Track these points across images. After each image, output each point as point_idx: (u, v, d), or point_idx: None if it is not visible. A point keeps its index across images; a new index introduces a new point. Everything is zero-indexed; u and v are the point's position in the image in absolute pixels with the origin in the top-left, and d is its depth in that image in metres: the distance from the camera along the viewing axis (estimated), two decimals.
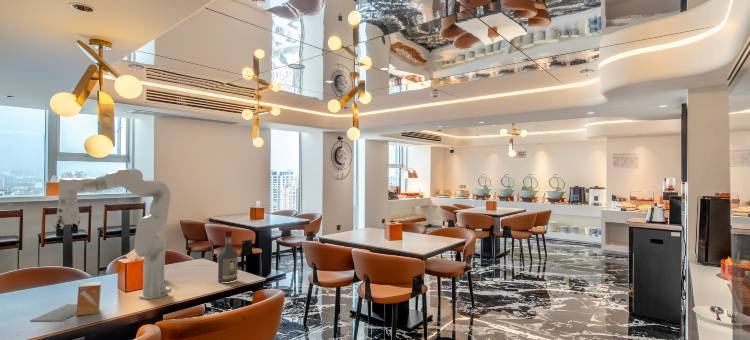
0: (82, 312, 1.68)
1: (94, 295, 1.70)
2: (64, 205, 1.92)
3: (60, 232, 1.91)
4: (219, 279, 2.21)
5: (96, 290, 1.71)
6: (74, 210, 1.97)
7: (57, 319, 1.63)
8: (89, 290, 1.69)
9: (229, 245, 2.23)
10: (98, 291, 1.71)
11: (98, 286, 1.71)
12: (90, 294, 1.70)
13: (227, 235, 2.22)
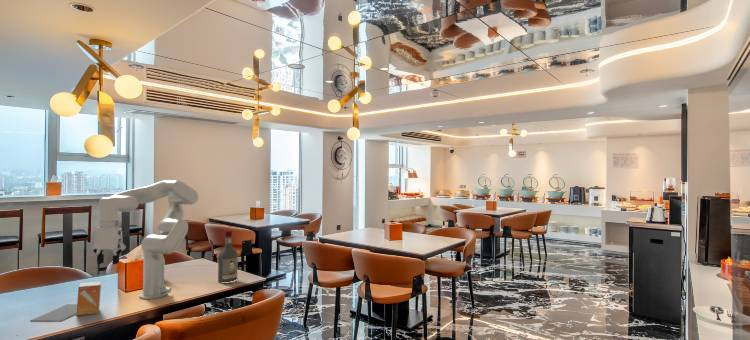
0: (82, 312, 1.68)
1: (94, 295, 1.70)
2: (119, 227, 1.74)
3: None
4: (219, 279, 2.21)
5: (96, 290, 1.71)
6: None
7: (57, 319, 1.63)
8: (89, 290, 1.69)
9: (229, 245, 2.23)
10: (98, 291, 1.71)
11: (98, 286, 1.71)
12: (90, 294, 1.70)
13: (227, 235, 2.22)
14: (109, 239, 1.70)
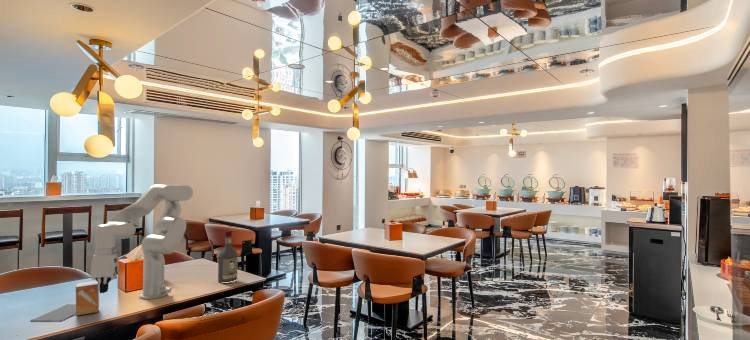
0: (81, 312, 1.68)
1: (92, 294, 1.70)
2: (115, 254, 1.73)
3: None
4: (219, 279, 2.21)
5: (94, 289, 1.70)
6: None
7: (57, 319, 1.63)
8: (87, 289, 1.69)
9: (229, 245, 2.23)
10: (96, 290, 1.71)
11: (95, 285, 1.71)
12: (88, 293, 1.69)
13: (227, 235, 2.22)
14: (105, 267, 1.69)
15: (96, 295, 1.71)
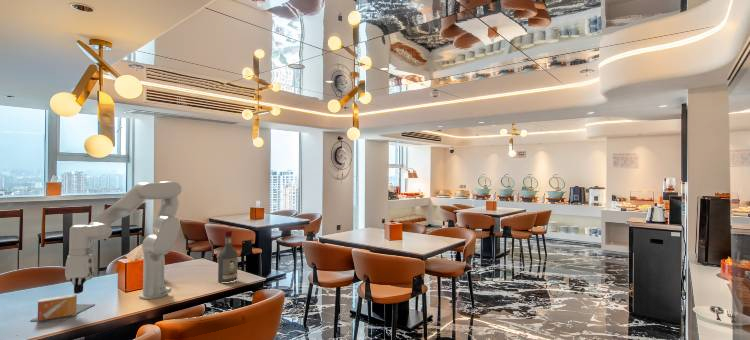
0: (72, 310, 1.67)
1: (51, 304, 1.63)
2: (90, 254, 1.73)
3: None
4: (219, 279, 2.21)
5: (45, 304, 1.61)
6: None
7: (57, 319, 1.63)
8: (44, 310, 1.61)
9: (229, 245, 2.23)
10: (46, 302, 1.62)
11: (39, 303, 1.60)
12: (49, 308, 1.62)
13: (227, 235, 2.22)
14: (79, 268, 1.70)
15: (53, 301, 1.63)
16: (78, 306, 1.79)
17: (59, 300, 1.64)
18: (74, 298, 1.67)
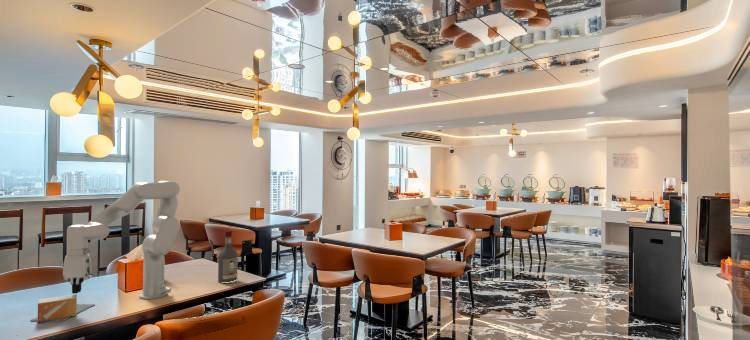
0: (72, 311, 1.67)
1: (51, 306, 1.62)
2: (88, 254, 1.73)
3: None
4: (219, 279, 2.21)
5: (45, 305, 1.61)
6: None
7: (57, 319, 1.63)
8: (43, 311, 1.61)
9: (229, 245, 2.23)
10: (46, 303, 1.61)
11: (39, 304, 1.60)
12: (49, 309, 1.62)
13: (227, 235, 2.22)
14: (77, 267, 1.70)
15: (53, 302, 1.63)
16: (78, 306, 1.79)
17: (59, 301, 1.64)
18: (74, 299, 1.67)
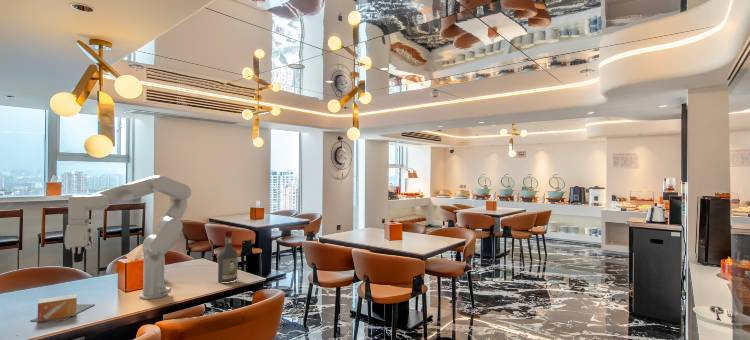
0: (72, 311, 1.67)
1: (51, 306, 1.62)
2: (89, 224, 1.76)
3: None
4: (219, 279, 2.21)
5: (45, 305, 1.61)
6: None
7: (57, 319, 1.63)
8: (43, 311, 1.61)
9: (229, 245, 2.23)
10: (46, 303, 1.61)
11: (39, 304, 1.60)
12: (49, 309, 1.62)
13: (227, 235, 2.22)
14: (79, 237, 1.72)
15: (53, 302, 1.63)
16: (78, 306, 1.79)
17: (59, 301, 1.64)
18: (74, 299, 1.67)
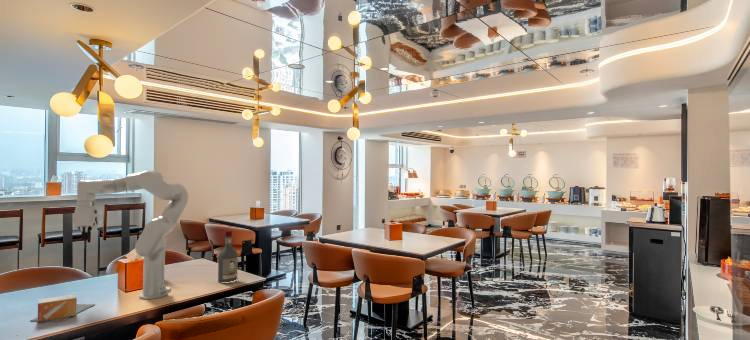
0: (72, 311, 1.67)
1: (51, 306, 1.62)
2: (95, 206, 1.96)
3: None
4: (219, 279, 2.21)
5: (45, 305, 1.61)
6: None
7: (57, 319, 1.63)
8: (43, 311, 1.61)
9: (229, 245, 2.23)
10: (46, 303, 1.61)
11: (39, 304, 1.60)
12: (49, 309, 1.62)
13: (227, 235, 2.22)
14: (86, 217, 1.92)
15: (53, 302, 1.63)
16: (78, 306, 1.79)
17: (59, 301, 1.64)
18: (74, 299, 1.67)
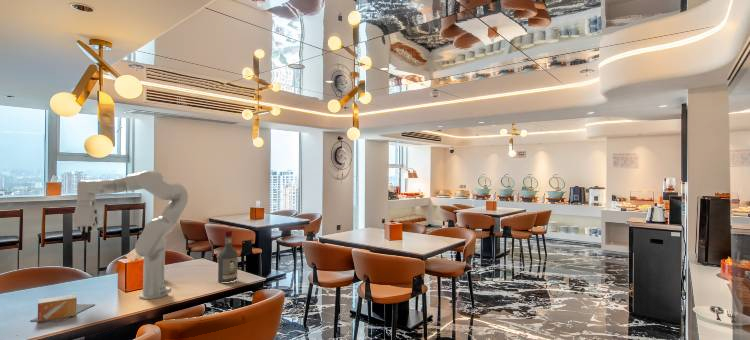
0: (72, 311, 1.67)
1: (51, 306, 1.62)
2: (95, 206, 1.96)
3: None
4: (219, 279, 2.21)
5: (45, 305, 1.61)
6: None
7: (57, 319, 1.63)
8: (43, 311, 1.61)
9: (229, 245, 2.23)
10: (46, 303, 1.61)
11: (39, 304, 1.60)
12: (49, 309, 1.62)
13: (227, 235, 2.22)
14: (86, 217, 1.92)
15: (53, 302, 1.63)
16: (78, 306, 1.79)
17: (59, 301, 1.64)
18: (74, 299, 1.67)
